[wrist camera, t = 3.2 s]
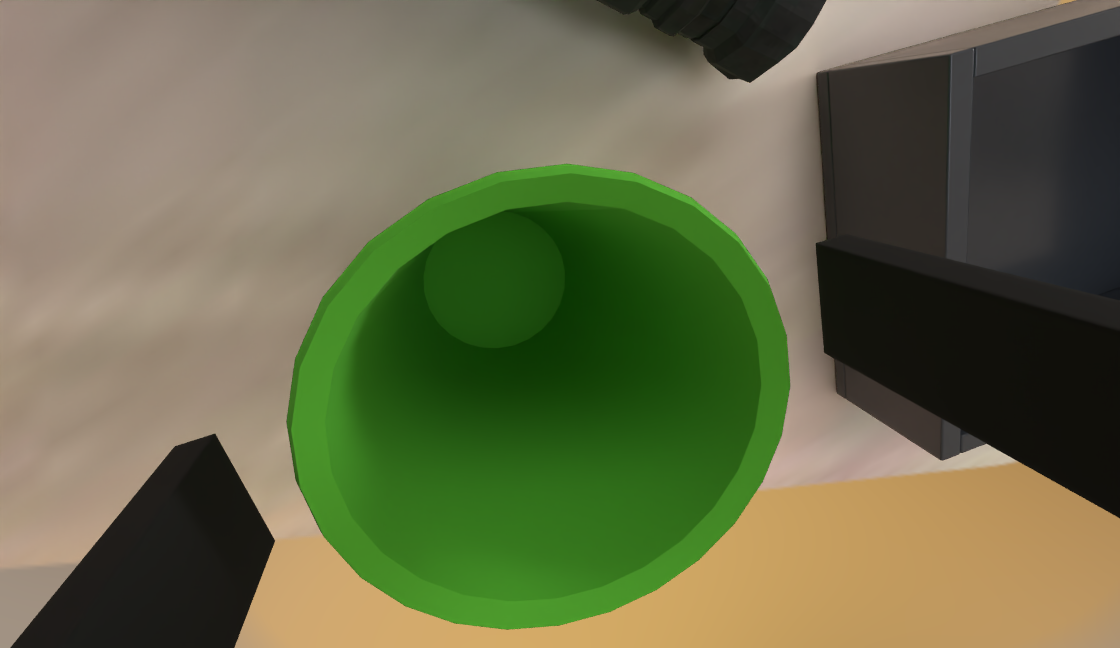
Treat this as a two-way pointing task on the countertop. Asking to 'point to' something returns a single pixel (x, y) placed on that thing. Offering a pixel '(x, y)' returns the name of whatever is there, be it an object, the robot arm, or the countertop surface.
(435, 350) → the cup
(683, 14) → the flashlight
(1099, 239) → the dark grey open box
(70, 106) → the countertop surface
